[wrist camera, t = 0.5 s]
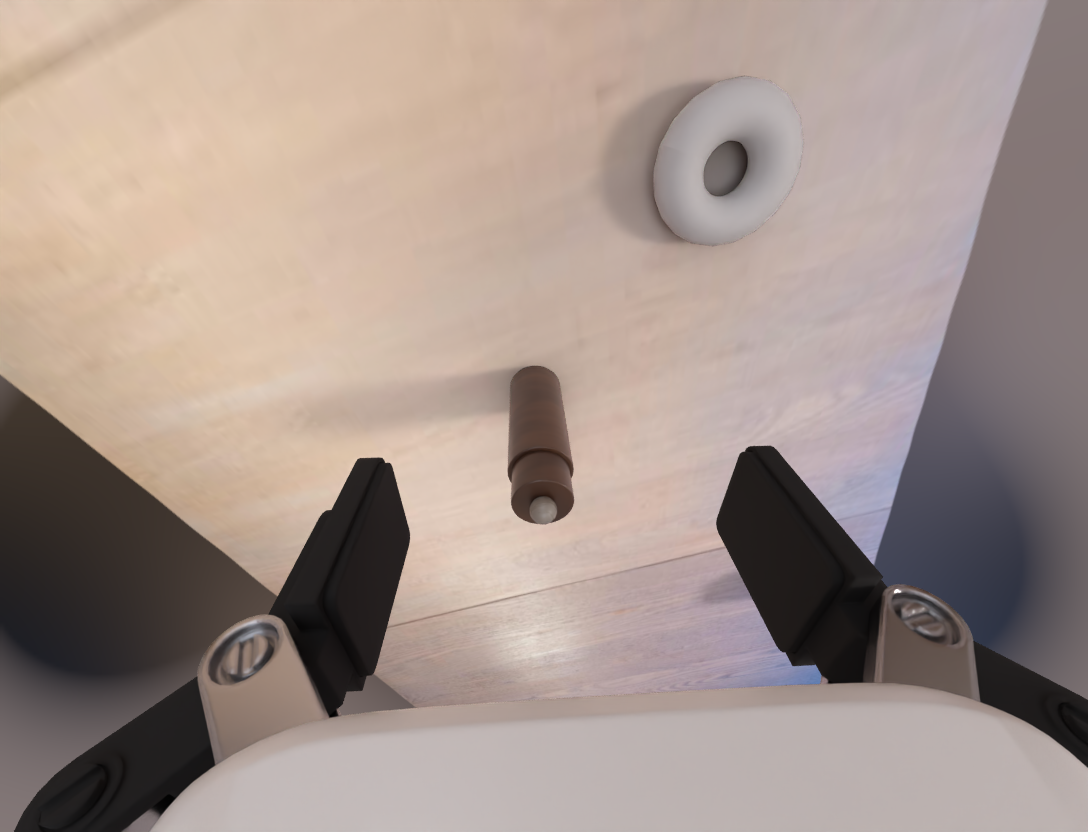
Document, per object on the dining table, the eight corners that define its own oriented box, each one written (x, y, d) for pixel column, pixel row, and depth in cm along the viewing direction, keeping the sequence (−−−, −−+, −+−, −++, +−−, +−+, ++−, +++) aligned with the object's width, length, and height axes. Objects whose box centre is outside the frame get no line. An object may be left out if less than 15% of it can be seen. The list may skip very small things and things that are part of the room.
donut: (763, 237, 33) (807, 75, 27) (786, 248, 30) (841, 70, 24) (639, 242, 32) (657, 80, 26) (651, 254, 30) (673, 75, 24)
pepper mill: (537, 356, 37) (548, 482, 24) (569, 388, 40) (596, 521, 26) (499, 386, 39) (490, 520, 26) (533, 416, 41) (540, 554, 28)
